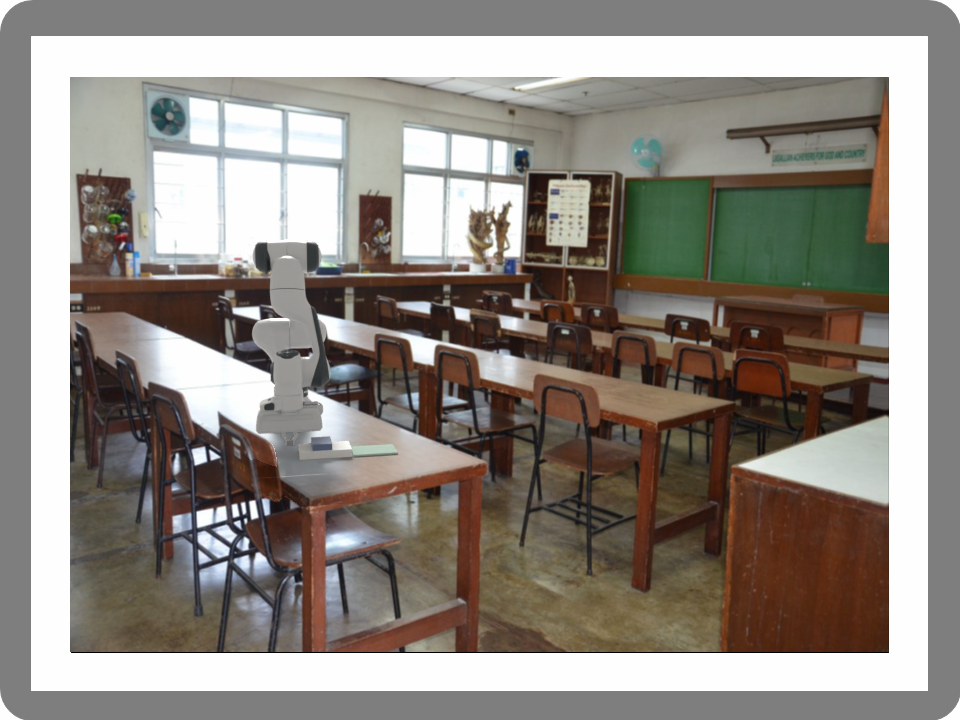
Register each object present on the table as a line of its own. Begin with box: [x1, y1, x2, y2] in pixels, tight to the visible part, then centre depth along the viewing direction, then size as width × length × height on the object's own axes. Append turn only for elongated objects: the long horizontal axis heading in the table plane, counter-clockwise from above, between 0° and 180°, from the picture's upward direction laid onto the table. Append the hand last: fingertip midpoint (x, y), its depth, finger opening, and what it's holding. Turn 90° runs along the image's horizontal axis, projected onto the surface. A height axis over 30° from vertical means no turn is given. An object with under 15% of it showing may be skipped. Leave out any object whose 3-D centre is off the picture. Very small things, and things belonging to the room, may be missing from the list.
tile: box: [310, 435, 333, 451], centre depth 249 cm, size 9×6×2 cm, turn 15°
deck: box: [297, 440, 353, 461], centre depth 249 cm, size 10×16×2 cm, turn 105°
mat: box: [350, 443, 399, 458], centre depth 253 cm, size 10×14×1 cm
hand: (290, 445), depth 246 cm, fingers closed
